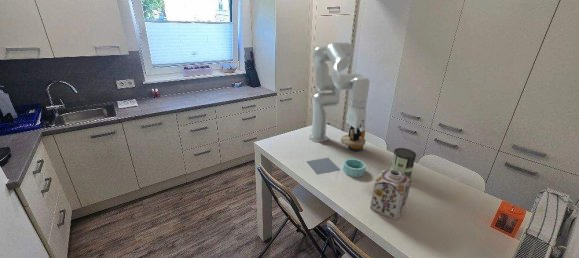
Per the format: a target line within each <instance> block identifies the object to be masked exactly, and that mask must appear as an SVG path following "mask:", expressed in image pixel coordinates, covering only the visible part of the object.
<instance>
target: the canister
mask: <svg viewBox="0 0 579 258" xmlns="http://www.w3.org/2000/svg"><path fill="white" fill-rule="evenodd" d="M357 130H359V129H357ZM365 136H366V125H365V126H364V131H362V132H361V133H360V137H362V138H364V139H365ZM347 147H348V149H349V150H351V151H354V152H360V151H362V150H363V149H364V145H363V146H360V147H353V146H348V145H347Z"/></svg>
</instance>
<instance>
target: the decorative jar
mask: <svg viewBox="0 0 579 258" xmlns="http://www.w3.org/2000/svg"><path fill="white" fill-rule="evenodd" d="M411 184H412V181H411V178H410V179H409V178H408V177H407V176H406V175H405V174H404V173H402V172H399V171H398V170H391V169H383V170H381V171H380V172H379V174H378V176H377V177H376V179H375V181H374V184H373V190H372V195H371V199H370V205H369V209H370V210H371V211H374V212H376V213H379V214H381V215H383V216H385V217H387V218H390V219H391V220H393V221H395V222H397V221H398V220H399V218H400V216H401V215H402V213H403V212H404V210H405V207H406V205H407V200H408V198H409V194H410V188H411Z"/></svg>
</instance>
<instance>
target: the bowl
mask: <svg viewBox="0 0 579 258" xmlns="http://www.w3.org/2000/svg"><path fill="white" fill-rule="evenodd" d="M342 172H343V173H344V174H345V175H348V176H349V177H353V178H359V177H360V178H361V177H362V176H364V174H365V172H366V163H365V162H364V161H363V160H361V159H358V158H346V159H344V161H343V165H342Z"/></svg>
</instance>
